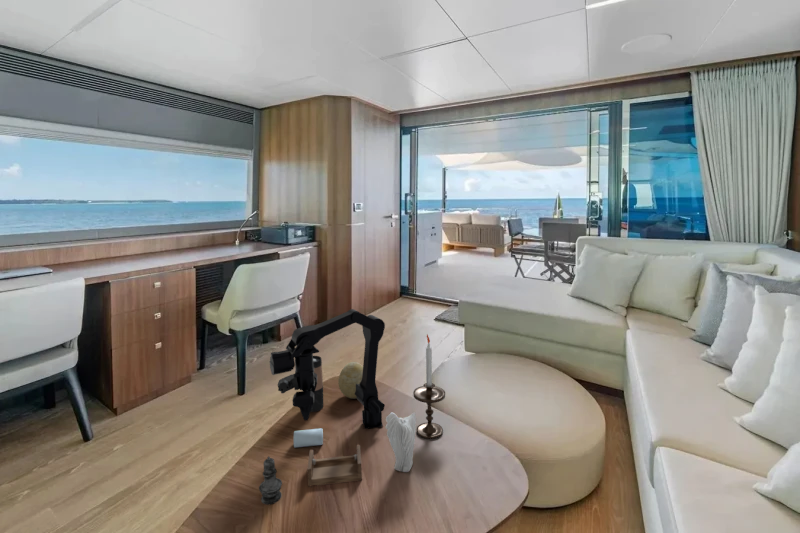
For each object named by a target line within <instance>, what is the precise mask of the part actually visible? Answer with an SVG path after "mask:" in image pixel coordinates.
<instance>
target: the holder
mask: <svg viewBox="0 0 800 533" xmlns="http://www.w3.org/2000/svg"><path fill="white" fill-rule="evenodd" d="M314 457H315V456H314V449H309V454H308V460H307V461H308V462H307V469H306V472H307V486H308V487H311V486H310V485H317V486H323V485H331V484H339V483H340V484H341V483H348V482H357V481H362V480H363V473H362V470H363V468H362V458H361V457H362V455H361V444H356V454H353V455H343V456H334V457H333V456H332V457H325V458H314Z"/></svg>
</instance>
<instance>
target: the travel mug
mask: <svg viewBox="0 0 800 533" xmlns="http://www.w3.org/2000/svg"><path fill="white" fill-rule="evenodd" d="M313 366H314V372H315V373H316V374H317V386H316V389H315V392H314V404H313V407H312V409H311V412H310V413H315V412H319V411H321V410H323V408H324V381H323V380H324V379H323V362H322V357H321V356H318V355H313Z"/></svg>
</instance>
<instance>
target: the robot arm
mask: <svg viewBox="0 0 800 533" xmlns="http://www.w3.org/2000/svg"><path fill="white" fill-rule="evenodd" d="M353 324H358V325H360V326H362V334H363V337H364V342H365V343H364V352H363V364H362V366H363V374H362V381H361V382H360V384H356V391H355V395H356V399H357V401H358V402H359V403H360V404H361V405H362V406H363V410H361V416H362V417H361V418H362V425H363V427H364V428H363V429H375V428H383V427H384V426H383V418H382V417H383V416H382V413H383V411H384V410H385V407H386V404H384V403H383V402H382V401H381V400H380V399H379V391H378V387H377V383H376V376H377V366H378V356H379V355H378V354H379V343H380V341H381V340H382V338H383V336H384V332H385V328H386V323H385V321H384V320H383V319H382V318H379V317H377V316H375V315H373V314H368V315H365V314H363V313H362V312H360V311H358V310H356V309H351V308H350V309H349V310H347V311H345V312H343V313H341V314H339V315H336V316H335V317H332V318H329V319H327V320H325V321H322V322H319V323H318V324H314V325H313V324H312V325H305V326H301V327H298V328H296V329H294V330H293V332H292V334H291V339H290V341H289V342H288V344H287V345H286V346H285V350H281V351H273V352H270V358H269V369H270V372H271V375H272V376H275V375H280V374H284V373H289V372H292V371H293V370H294V368H295V370H294V372H295V373H292V374H289V375H287V376H284V377H283V378H281V379H279V380H278V382H277V391H278V392H280V393H281V394H285V393H287V392H288V391H290V390H293V389H294V391H296V392H295V393H294V394H293V397H292V400H291V401H292V406H293V407H296V408H298V409H300V413H301V416H302V419H303V420H304V421H308V420H309V417H310V415H311V413H312V412H311V409H312V407H313V404H314V392H315V389H316V386H317V374H316V373H315V372H314V366H313V356H314V354H317V353H320V350H319V349H318V348H317V347H315V345H317V344H318V343H319V342H320V341H321V340H322V339H324V337H326V336H329V335H331V334H333V333H335V332H338V331H340V330H343V329H344V328H347V327H348V326H351V325H353ZM298 390H300V391H298Z"/></svg>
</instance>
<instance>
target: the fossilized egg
mask: <svg viewBox="0 0 800 533" xmlns="http://www.w3.org/2000/svg"><path fill="white" fill-rule="evenodd" d="M362 374H363V364H361V363H359V362H357V361H351V362H348V363H346V364H345V366H344V367H342V370H340V372H339V376H338V378H337V379H338V383H337V384H338V389H339V390H340V392H341V394H342V395H343V396H344V397H346V398H348V399H352V400H353V399H357V398H356V395H355V391H356V384H360V382H361V381H362Z"/></svg>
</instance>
